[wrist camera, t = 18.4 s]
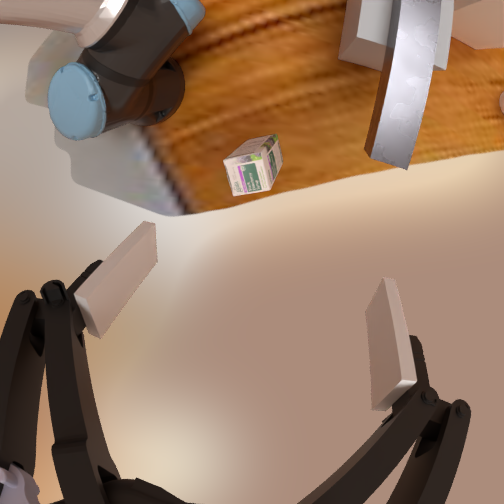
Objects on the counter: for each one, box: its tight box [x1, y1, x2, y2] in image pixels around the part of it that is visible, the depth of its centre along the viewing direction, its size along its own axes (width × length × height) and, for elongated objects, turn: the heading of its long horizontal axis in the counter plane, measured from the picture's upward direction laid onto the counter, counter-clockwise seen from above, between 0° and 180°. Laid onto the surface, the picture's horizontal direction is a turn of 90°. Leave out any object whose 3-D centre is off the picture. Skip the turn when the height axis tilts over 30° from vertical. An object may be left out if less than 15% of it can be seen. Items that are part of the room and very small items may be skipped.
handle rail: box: [364, 0, 442, 170], centre depth 15 cm, size 4×26×4 cm, turn 172°
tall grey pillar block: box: [338, 0, 454, 72], centre depth 24 cm, size 9×14×24 cm, turn 172°
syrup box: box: [223, 134, 283, 196], centre depth 44 cm, size 6×6×14 cm
